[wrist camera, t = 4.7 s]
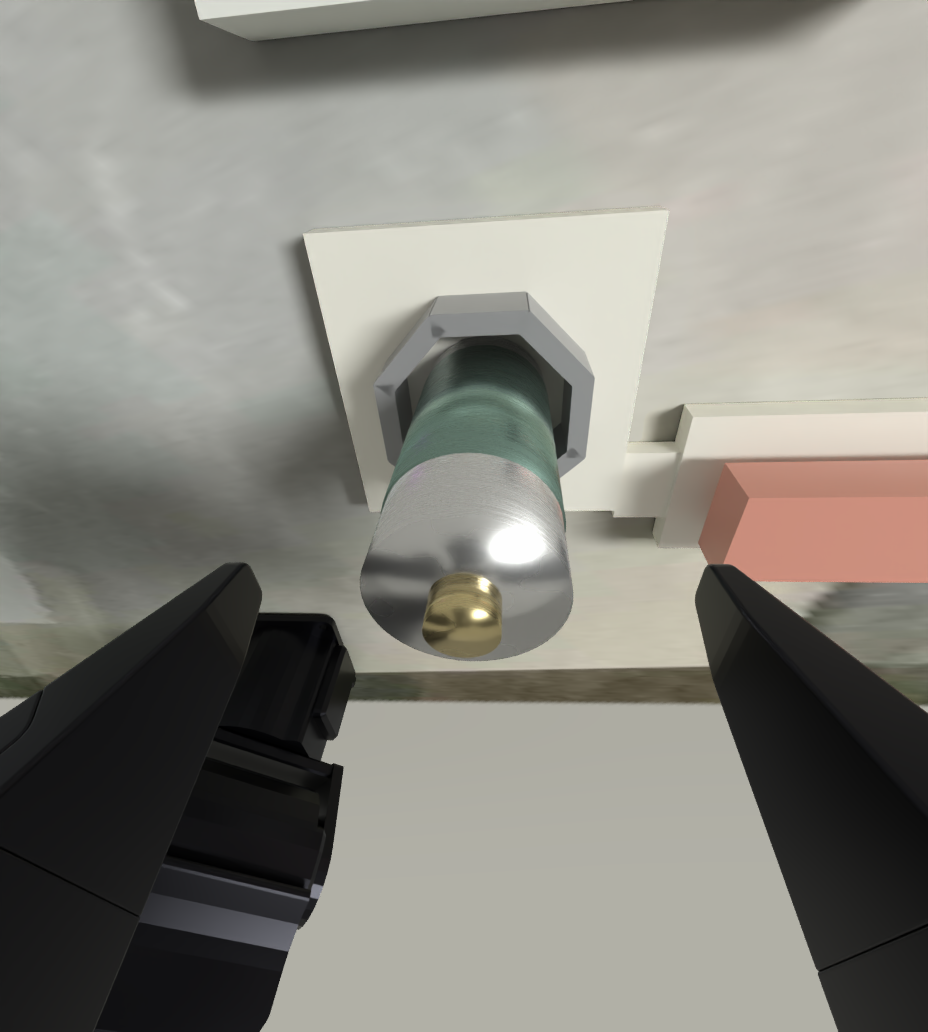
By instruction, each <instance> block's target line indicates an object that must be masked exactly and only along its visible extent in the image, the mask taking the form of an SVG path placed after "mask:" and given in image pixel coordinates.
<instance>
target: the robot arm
mask: <svg viewBox="0 0 928 1032" xmlns="http://www.w3.org/2000/svg"><path fill="white" fill-rule="evenodd" d="M261 601H262V591H261V588H260V586H259V584H258V581H257V579H256V577H255V575H254V573H253V571H252V569H251V567H250V566H249V565H248V564H247V563H243V562H229V563H225V564H223V565H222V566H220V567H219V568H217V569H216V570H215V571H213V572H212V573H210V574H209V575H207V576H206V577H204V578H203V579H201V580H200V581H199V582H197V583H196V584H194V585H193V586H191V587H190V588H188V589H187V590H185V591H184V592H183V593H181V594H180V595H178V596H177V597H175V598H174V599H172V600H171V601H169V602H168V603H166V604H165V605H164V606H162V607H161V608H159V609H158V610H156V611H155V612H153V613H152V614H150V615H149V616H148V617H146V618H145V619H143V620H142V621H140V622H139V623H137V624H136V625H134V626H133V627H131V628H130V629H129V630H127V631H126V632H124V633H123V634H121V635H120V636H118V637H117V638H115V639H114V640H112V641H111V642H110V643H108V644H107V645H105V646H104V647H102V648H101V649H99V650H98V651H96V652H95V653H94V654H92V655H91V656H89V657H88V658H86V659H85V660H83V661H82V662H80V663H79V664H77V665H76V666H75V667H73V668H72V669H70V670H69V671H67V672H66V673H64V674H63V675H61V676H60V677H58V678H57V679H56V680H54V681H53V682H51V683H50V684H48V685H47V686H46V687H45V688H44V690H40V691H38V692H36V693H35V694H34V695H32V696H31V697H29V698H28V699H26V700H25V701H24V702H22V703H21V704H19V705H18V706H16V707H15V708H13V709H12V710H10V711H9V712H7V713H6V714H4V715H3V716H1V717H0V1032H260V1030H261V1029H262V1027H263V1026H264V1024H265V1023H266V1021H267V1019H268V1017H269V1015H270V1012H271V1008H272V1005H273V1001H274V998H275V995H276V991H277V987H278V984H279V981H280V978H281V974H282V971H283V967H284V964H285V961H286V958H287V955H288V951H289V949H290V946H291V943H292V940H293V938H294V935H295V932H296V930H297V929H300V928H301V927H303V925H304V924H305V922H307V920H308V919H309V917H310V915H311V913H312V911H313V909H314V907H315V905H316V903H317V901H318V898H319V896H320V893H321V891H322V888H323V885H324V882H325V879H326V875H327V872H328V868H329V864H330V860H331V855H332V848H333V842H334V834H335V827H336V820H337V812H338V805H339V797H340V789H341V783H342V775H343V766H340V765H337V764H334V763H333V764H332V765H331V764H328V763H325V762H322V761H321V758H322V754H323V751H324V748H325V745H326V741H327V740H334V739H335V738H336V737H337V736H338V732H339V729H340V725H341V722H342V718H343V715H344V711H345V708H346V704H347V701H348V697H349V694H350V690H351V688H352V687H354V685H355V681H356V677H355V670H354V667H353V665H352V662H351V659H350V656H349V654H348V651H347V649H346V648H345V646H344V645H343V642H342V640H341V637H340V634H339V631H338V629H337V626H336V623H335V621H334V620H333V619H332V618H331V617H328V616H309V615H258V612H259V608H260V605H261ZM695 605H696V610H697V614H698V618H699V623H700V627H701V631H702V636H703V640H704V644H705V649H706V653H707V657H708V662H709V666H710V670H711V674H712V678H713V681H714V684H715V687H716V690H717V693H718V696H719V699H720V702H721V705H722V707H723V710H724V713H725V716H726V718H727V721H728V724H729V727H730V730H731V733H732V735H733V738H734V740H735V744H736V746H737V749H738V752H739V754H740V758H741V760H742V763H743V766H744V769H745V772H746V774H747V777H748V780H749V783H750V786H751V788H752V791H753V794H754V797H755V799H756V802H757V805H758V808H759V810H760V813H761V816H762V819H763V822H764V824H765V827H766V830H767V833H768V836H769V839H770V841H771V844H772V847H773V850H774V852H775V855H776V858H777V860H778V864H779V866H780V869H781V872H782V875H783V877H784V880H785V883H786V886H787V889H788V891H789V894H790V897H791V900H792V903H793V906H794V908H795V911H796V914H797V917H798V919H799V922H800V925H801V928H802V931H803V933H804V936H805V939H806V942H807V945H808V947H809V950H810V953H811V956H812V959H813V961H814V964H815V967H816V969H817V970H818V971H819V972H818V976H819V979H820V982H821V985H822V987H823V990H824V993H825V996H826V999H827V1001H828V1004H829V1007H830V1010H831V1013H832V1015H833V1018H834V1021H835V1024H836V1026H837V1029H838V1032H928V713H927V712H926V711H924V710H923V709H922V708H920V707H919V706H918V705H916V704H915V703H914V702H912V701H911V700H910V699H909V698H907V697H906V696H905V695H903V694H902V693H901V692H899V691H898V690H897V689H895V688H894V687H893V686H891V685H890V684H889V683H887V682H886V681H885V680H884V679H882V678H881V677H880V676H878V675H877V674H876V673H874V672H873V671H872V670H870V669H869V668H868V667H866V666H865V665H864V664H863V663H861V662H860V661H859V660H857V659H856V658H855V657H853V656H852V655H851V654H849V653H848V652H847V651H845V650H844V649H843V648H841V647H840V646H839V645H838V644H836V643H835V642H834V641H832V640H831V639H830V638H828V637H827V636H826V635H824V634H823V633H822V632H820V631H819V630H818V629H816V628H815V627H814V626H813V625H811V624H810V623H809V622H807V621H806V620H805V619H803V618H802V617H801V616H799V615H798V614H797V613H795V612H794V611H793V610H792V609H790V608H789V607H788V606H786V605H785V604H784V603H782V602H781V601H780V600H778V599H777V598H776V597H774V596H773V595H772V594H770V593H769V592H768V591H767V590H765V589H764V588H763V587H761V586H760V585H759V584H757V583H756V582H755V581H753V580H752V579H751V578H749V577H748V576H747V575H745V574H744V573H743V572H742V571H740V570H739V569H738V568H736V567H735V566H733V565H731V564H709V565H707V566H706V568H705V569H704V572H703V575H702V577H701V580H700V583H699V586H698V588H697V591H696V595H695Z"/></svg>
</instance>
